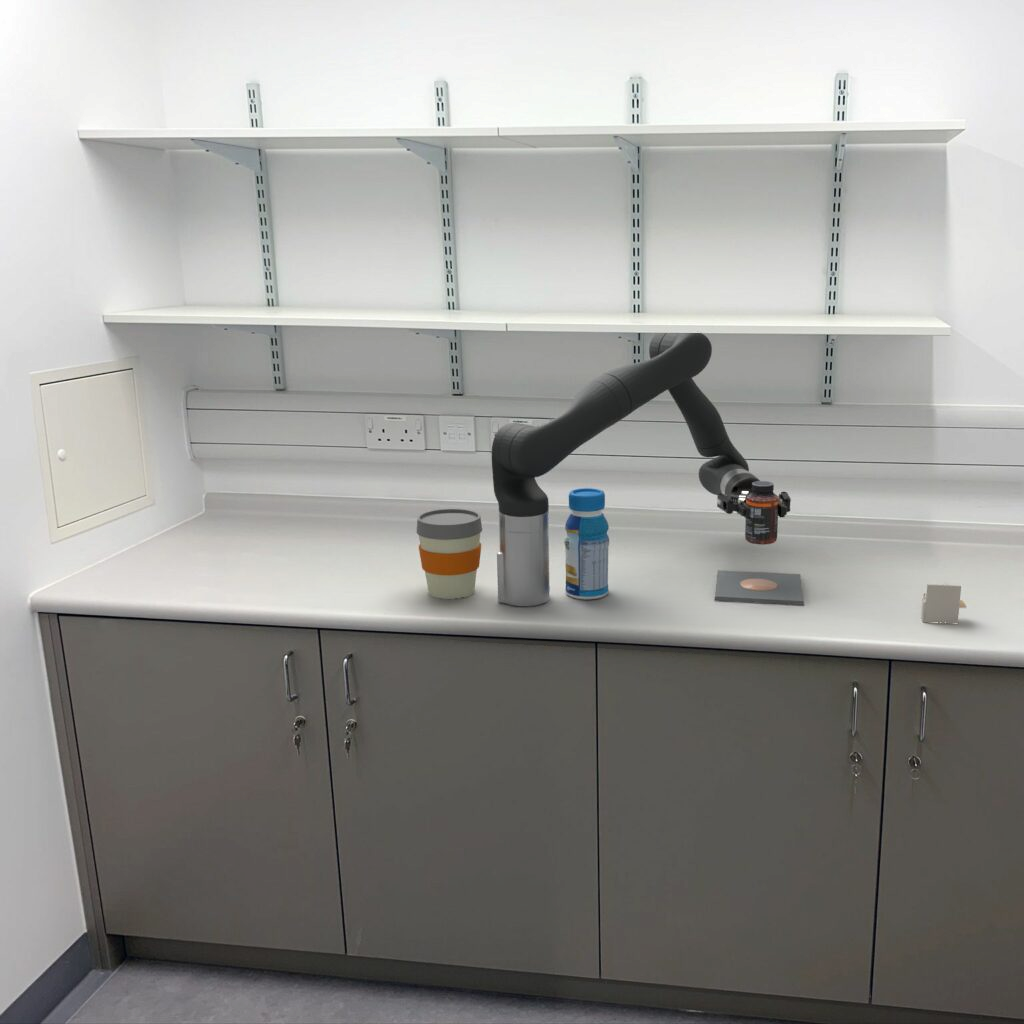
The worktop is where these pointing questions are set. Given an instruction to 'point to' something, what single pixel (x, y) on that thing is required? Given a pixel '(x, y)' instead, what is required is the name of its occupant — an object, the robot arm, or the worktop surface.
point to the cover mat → (759, 587)
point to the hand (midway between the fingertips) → (765, 512)
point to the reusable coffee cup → (450, 551)
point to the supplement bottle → (762, 514)
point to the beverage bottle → (586, 545)
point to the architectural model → (942, 603)
